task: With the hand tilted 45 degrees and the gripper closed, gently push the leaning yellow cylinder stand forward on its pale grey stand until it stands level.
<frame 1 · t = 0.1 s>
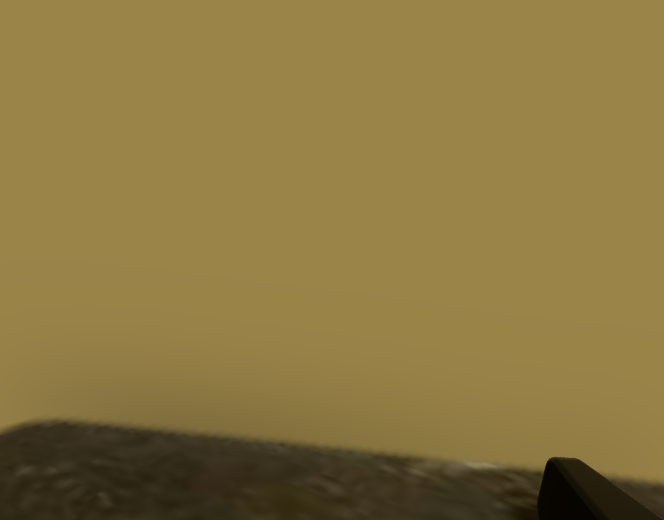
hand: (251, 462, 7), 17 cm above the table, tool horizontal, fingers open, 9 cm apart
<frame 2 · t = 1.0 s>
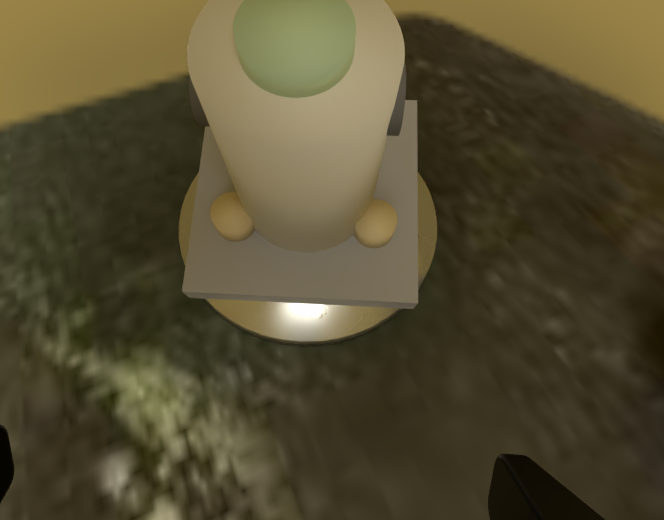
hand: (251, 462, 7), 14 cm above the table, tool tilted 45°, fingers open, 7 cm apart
levelling stand: (309, 225, 25), on the table
yellow cylinder stand: (303, 139, 18), point 8 cm above the table, hinge at -10.0°
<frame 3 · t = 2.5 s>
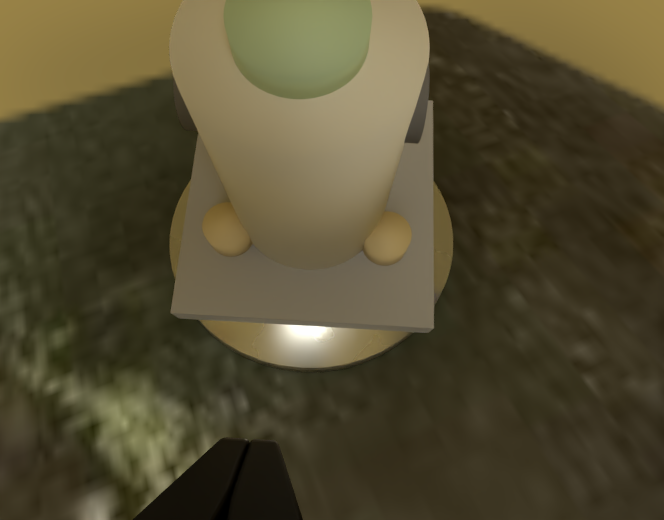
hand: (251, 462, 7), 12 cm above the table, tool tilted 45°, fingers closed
levelling stand: (312, 236, 23), on the table
yellow cylinder stand: (307, 144, 16), point 8 cm above the table, hinge at -10.0°
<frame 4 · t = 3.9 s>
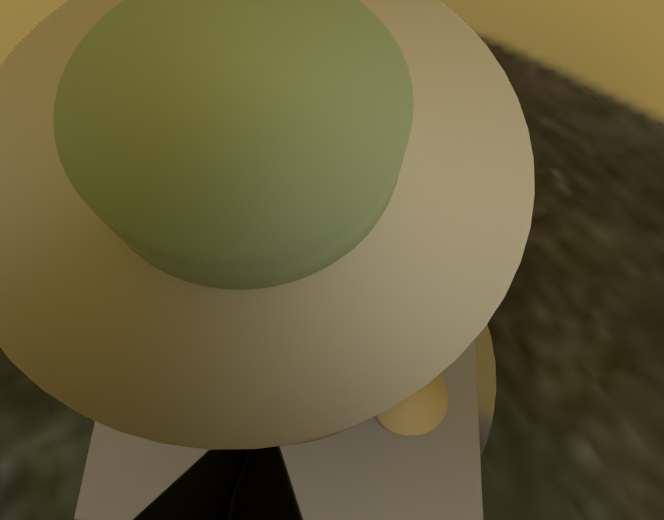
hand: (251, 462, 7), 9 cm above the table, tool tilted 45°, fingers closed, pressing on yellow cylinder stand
levelling stand: (300, 357, 17), on the table
yellow cylinder stand: (283, 281, 10), point 8 cm above the table, hinge at -6.4°, touching gripper
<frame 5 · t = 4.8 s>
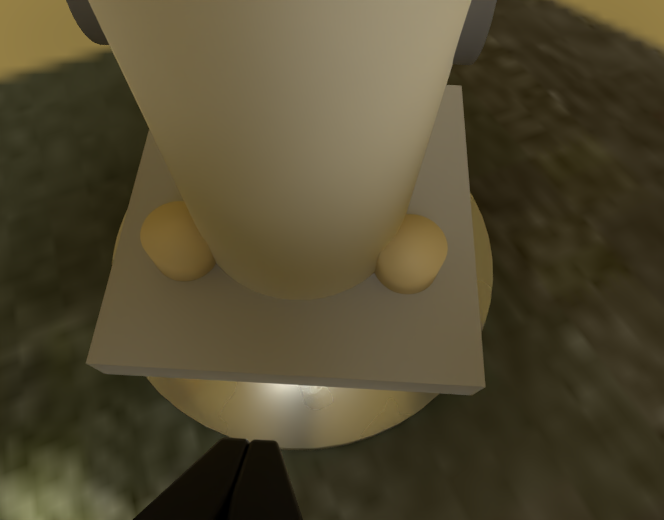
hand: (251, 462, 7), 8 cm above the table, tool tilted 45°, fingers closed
levelling stand: (304, 257, 17), on the table
yellow cylinder stand: (293, 97, 10), point 8 cm above the table, hinge at -0.6°
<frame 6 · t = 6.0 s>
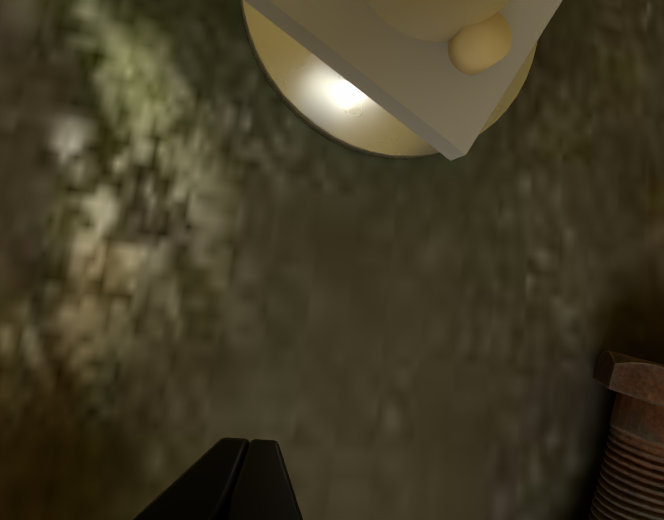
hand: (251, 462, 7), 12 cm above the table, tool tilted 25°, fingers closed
levelling stand: (394, 6, 21), on the table
bolt: (584, 502, 24), on the table
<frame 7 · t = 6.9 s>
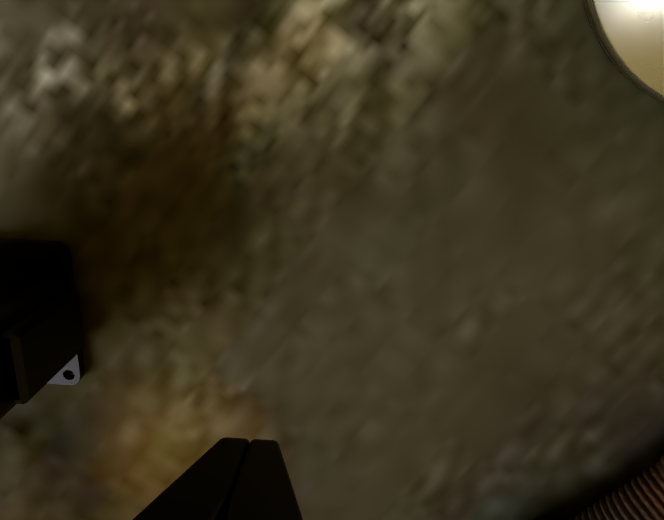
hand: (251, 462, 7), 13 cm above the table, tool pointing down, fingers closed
bolt: (581, 500, 24), on the table
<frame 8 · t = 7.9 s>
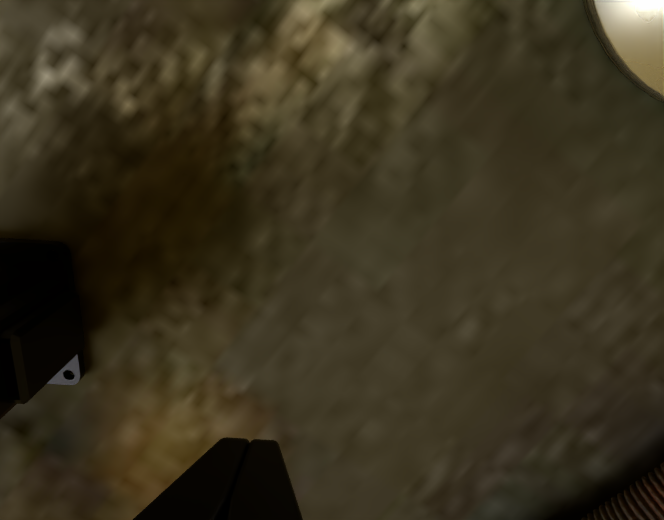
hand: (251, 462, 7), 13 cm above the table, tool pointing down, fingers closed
bolt: (587, 502, 24), on the table
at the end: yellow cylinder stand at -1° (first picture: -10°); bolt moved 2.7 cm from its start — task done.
